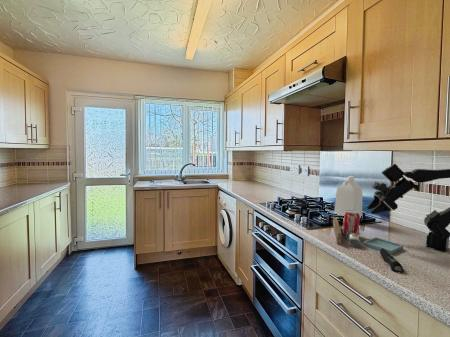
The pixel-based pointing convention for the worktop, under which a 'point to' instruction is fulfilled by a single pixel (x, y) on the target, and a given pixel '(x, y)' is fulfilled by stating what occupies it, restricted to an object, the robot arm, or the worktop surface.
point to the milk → (348, 197)
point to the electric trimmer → (391, 261)
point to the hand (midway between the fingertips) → (369, 210)
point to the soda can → (351, 222)
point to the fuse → (353, 236)
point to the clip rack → (338, 234)
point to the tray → (383, 245)
